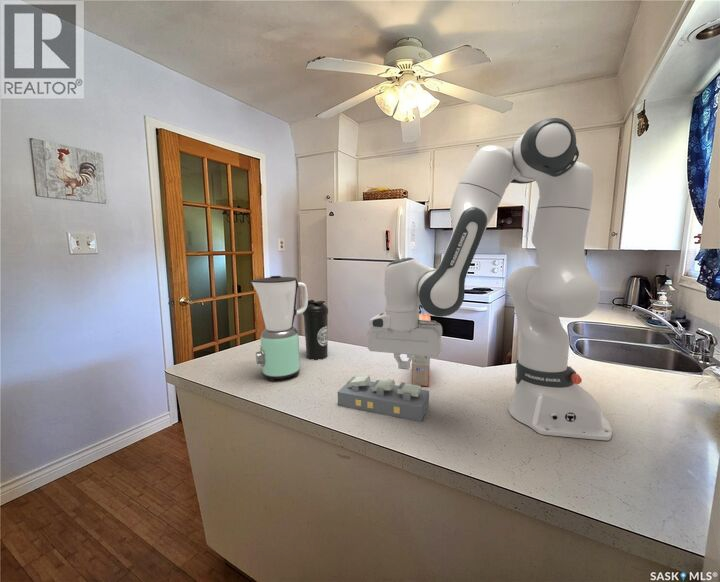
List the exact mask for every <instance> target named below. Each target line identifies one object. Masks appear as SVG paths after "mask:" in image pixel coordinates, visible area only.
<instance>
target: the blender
mask: <svg viewBox="0 0 720 582" xmlns="http://www.w3.org/2000/svg"><path fill="white" fill-rule="evenodd" d="M250 283H251V284H252V286H253V287H254V289H255V291H256V294H257V296H258V301H259V304H260V309H261V314H262V318H263V322H264V326H265V328H264V329H263V330H262V331H261V334H260V345H259V346H260V348H259V351H256V352H255V361H256V364H257V365H260V366H261V372H262V375H263V376H264V377H266V378H267V379H269V382H270V381H271V383H273V382H276V381H277V380H281V379H282V380H283V379H288V378H291V377H292V378H297V377H299V375H298V373H299V372H300V370H301V360H300V358H301V356H300V339H299V333H298V331H297V329H296V327H294V323H295V317H296V316H297V315H301V314H303V312H304V311H305V310H306V308H307V306H308V301H309V295H308V294H309V293H308V288H307V287H308V286H307V285H306V283H304V282H300V281H298V279H297V277H293V276H281V275H271V276H269V277H262V278H257V279H256V278H255V279H252V280H250ZM299 287H302V305H301V307H300V308H298V309H297V308H296V307H297V293H298V288H299Z"/></svg>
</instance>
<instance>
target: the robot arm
mask: <svg viewBox="0 0 720 582" xmlns="http://www.w3.org/2000/svg"><path fill="white" fill-rule="evenodd" d="M576 137H577V136H576V133H575V130H574V128H573V126H572V125H571V124H570V123H569V122H568V121H566V120H565V119H564V118H563V119H562V118H559V117H550V118H545V119H543V120H540V121H538V122H536V123H534V124H533V125H532V126H530V127H529V128H528V129H527V130H526V131H525V132H524V133H522V134H521V135H520V136H519V137H518V138H517V140H515V142H514V143H513V144H512V145H511V146H510V147H503V146H501V145H494V144H489V145H485V146H483V147H481V148H480V149H478V150H477V151H476V153H475V155H474V156H472V159H471V161H469V163H468V165H467V166H466V169H465V170H464V172H463V174H462V176H461V178H460V180H459V182H458V184H457V187H456V188H455V191H454V194H453V196H452V200H451V203H450V208H449V213H450V217H451V219H452V234H451V236H450V240H449V241H448V244H447V247H446V248H445V250H444V251H445V252H444V254H443V256H442V258H441V261H440V263H439V265H438V267H437V268H434V267H430V266H429V265H425V264H424V263H421V262H420V261H418V260H416V259H415V258H413V257H404V258H399V259H395V260H392V261H391V262H389V263H388V265H387V266H386V267H385V270H384V294H385V298H386V302H385V303H386V304H385V312H381V313H379V314H376V315H374V316H372V317H371V318H370V319H369V320H368V326H369V328H368V330H367V333H366V346H367V347H366V348H367V349H368V351H370V352H375V353H376V352H377V353H388V354H393V358H394V359H395V361H396V362H397V366H398V369H399V370H406V371H407V370H408V371H409V370H410V368H411V363H412V358H413V357H414V355H420V356H430V357H433V358H437V357H439V356H440V355H441V354H442V352H443V343H442V336H443V326H442V324H441V323H440V322H437V321H436V320H431V321H426V320H419V314H420V306H421V307H422V308H423V309H424V311H425V312H427V314H430V316H433V317H439V318H440V317H448V316H451V315H452V314H454V313H456V312H457V311H458V310H459V309H460V308H461V307H462V305H463V302H464V300H465V286H466V285H465V283H466V278H467V274H468V271H469V268H470V267H471V264H472V261H473V259H474V257H475V255H476V253H477V249H478V247H479V245H480V242H481V240H482V237H483V235H484V233H485V232H486V230H487V228H488V226H489V224H490V222H491V220H492V218H493V217H494V215H495V213H496V212H497V209H498V207H499V206H500V203H501V201H502V199H503V197H504V194H505V192H506V190H507V188H508V186H509V185H510V184H519V185H520V184H523V185H524V184H530V183H533V182H535V183H536V184H537V186H538V187H537V188H538V193H539V194H538V196H539V197H538V201H537V206H536V212H535V217H534V223H533V227H532V234H531V243H532V245H533V247H534V248H535V250H536V253H537V257H538V265H530V266H523V267H520V268H517V269H514V271H512V272H511V273H510V274H509V275H508V278H507V279H506V283H505V284H506V285H505V287H506V292H507V294H508V296H509V297H510V298H511V300H512V301H511V302H512V303H513V307H514V310H515V315H516V321H517V325H518V333H519V334H518V336H519V338H518V358H517V359H516V363H515V370H514V371H515V372H514V379H515V385H514V391H513V395H512V399H511V401H510V404H509V406H508V412H509V414H510V415H511V417H512V418H514V419H515V420H517V421H519V423H522V424H524V425H526V426H528V427H530V428H531V429H532V430H534V431H535V432H536V433H537V434H539V435H543V436H544V435H545V436H553V437H554V436H555V437H565V438H566V437H567V438H576V439H584V440H585V439H586V440H587V439H588V440H596V441H610V440H611V439H612V437H613V429H612V426H611V423H609V421H608V420H607V418H606V417H605V416H604V415H603V414H602V413H601V409H600V408H601V407H600V406H599V403H598V402H597V400H596V399H595V397H594V396H593V395H592V394H590V393H589V392H588V391H587V390H586V389H585V388H583V387H582V386H580V385H581V384H582V377H581V376H580V375H579V374H578V373H577V372H576V370H575V369H573V368H572V367H571V365H568V364H569V363H568V362H569V351H570V337H569V335H568V332H567V331H566V329H565V328H564V327H563V324H562V323H561V319H560V318H565V319H566V318H567V319H569V318H570V319H579V318H584V317H586V316H589V315H590V314H591V313H592V312H594V310H596V308H597V306H598V304H599V302H600V300H601V299H600V298H601V292H600V286H599V284H598V283H597V282H596V280H595V279H594V278H593V276H592V275H591V273H590V271H589V269H588V265H587V264H588V263H587V260H586V259H587V258H586V254H585V253H586V251H585V241H586V234H587V228H588V223H589V218H590V214H591V213H590V212H591V207H592V202H593V201H592V200H593V191H594V190H593V189H594V187H593V185H594V179H593V178H594V175H593V169H592V168H591V167H590V166H589V165H588V164H586V163H584V162H581V161H578V159H579V156H580V151H579V149H578V146H577V138H576ZM401 355H406V357H407V359H408V360H402V358H401Z"/></svg>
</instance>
